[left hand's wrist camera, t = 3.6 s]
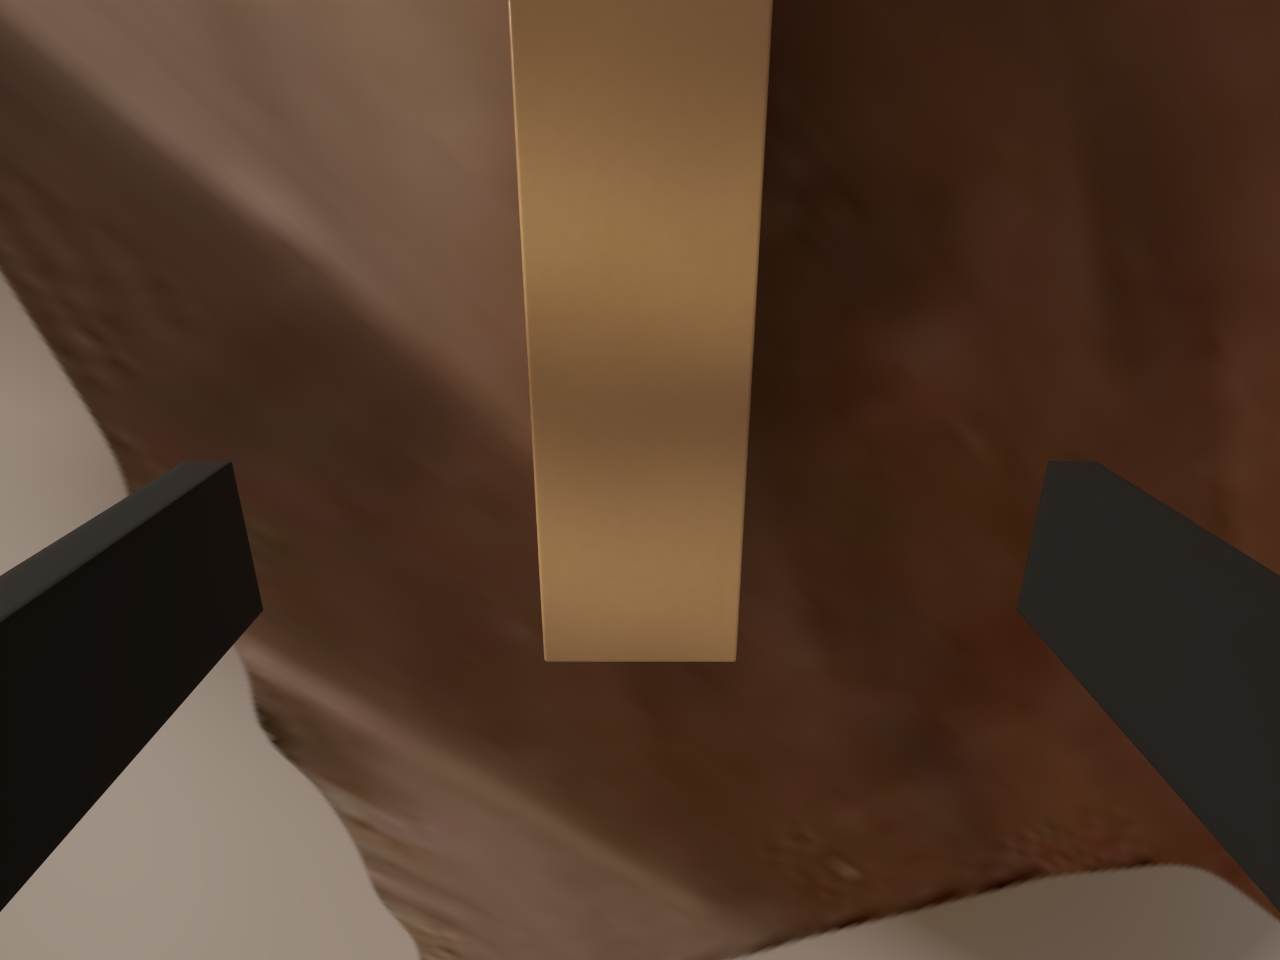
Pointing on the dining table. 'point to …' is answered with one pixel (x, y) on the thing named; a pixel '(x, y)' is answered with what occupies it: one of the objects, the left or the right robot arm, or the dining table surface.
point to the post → (640, 313)
